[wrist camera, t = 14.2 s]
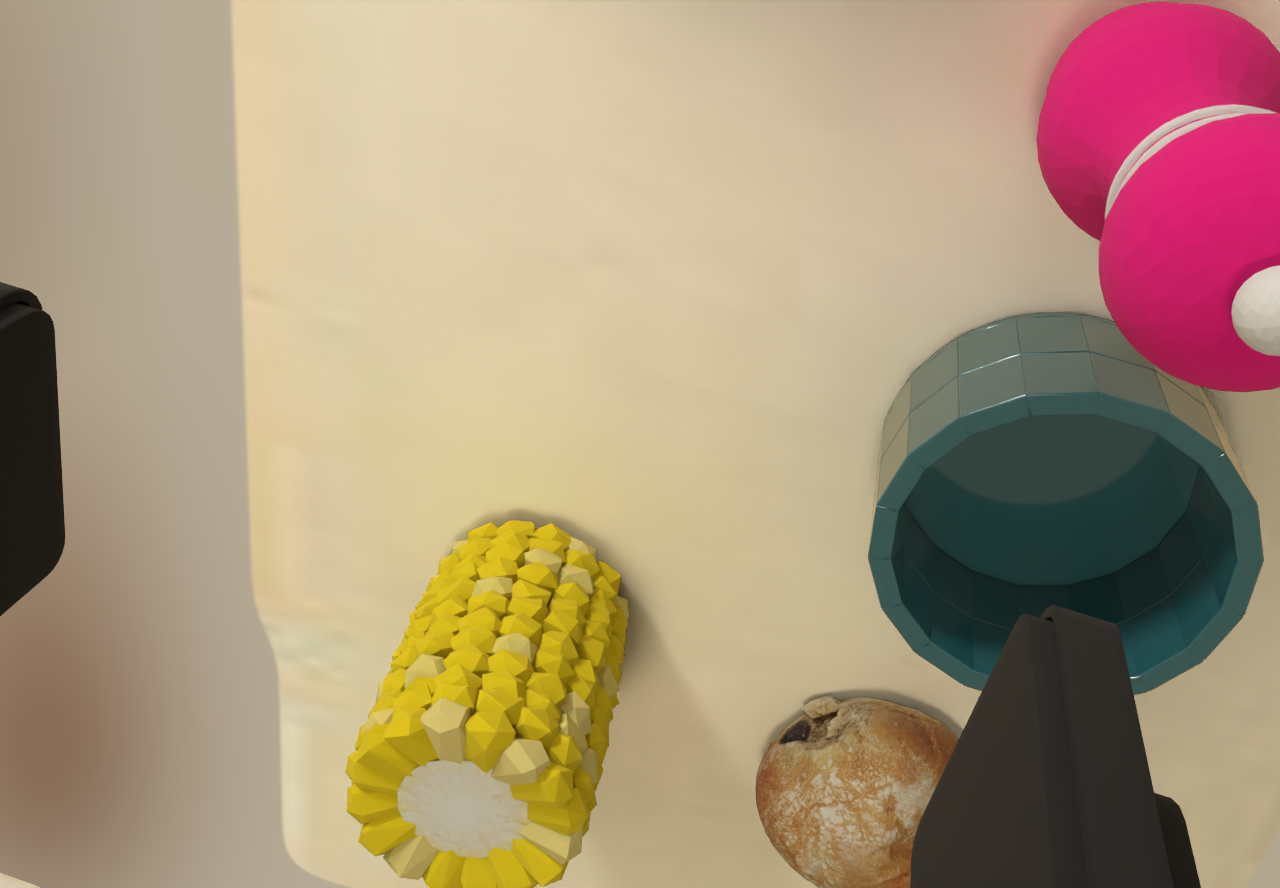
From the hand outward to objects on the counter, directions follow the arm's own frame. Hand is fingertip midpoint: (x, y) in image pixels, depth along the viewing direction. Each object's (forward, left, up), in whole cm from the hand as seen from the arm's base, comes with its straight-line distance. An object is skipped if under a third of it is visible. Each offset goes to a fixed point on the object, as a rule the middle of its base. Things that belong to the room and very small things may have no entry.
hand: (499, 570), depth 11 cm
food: (+28, -5, -34) cm, 45 cm away
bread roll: (+32, +12, -34) cm, 49 cm away
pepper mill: (0, +11, -34) cm, 36 cm away
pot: (+14, +13, -34) cm, 39 cm away
